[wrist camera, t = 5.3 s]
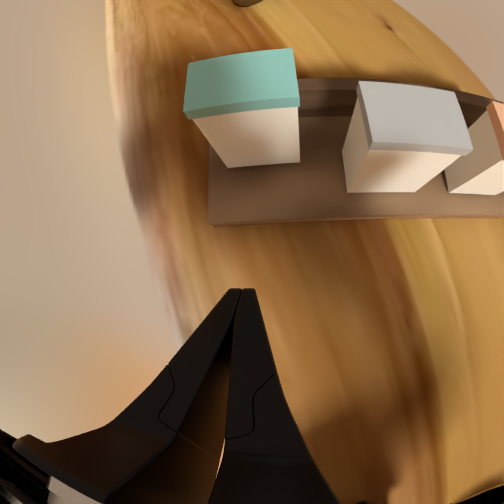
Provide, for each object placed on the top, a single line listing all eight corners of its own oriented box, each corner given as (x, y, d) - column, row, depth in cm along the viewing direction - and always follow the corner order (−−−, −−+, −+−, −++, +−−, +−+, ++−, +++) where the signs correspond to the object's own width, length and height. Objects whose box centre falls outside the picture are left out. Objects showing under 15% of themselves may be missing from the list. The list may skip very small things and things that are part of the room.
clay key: (496, 196, 16) (559, 166, 8) (447, 194, 17) (510, 155, 9) (487, 158, 16) (543, 118, 8) (439, 153, 17) (492, 100, 9)
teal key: (301, 163, 19) (299, 97, 11) (226, 169, 19) (182, 111, 12) (297, 123, 19) (292, 48, 11) (226, 130, 20) (188, 63, 12)
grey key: (415, 193, 17) (473, 149, 9) (345, 194, 18) (372, 141, 10) (408, 151, 17) (454, 92, 10) (340, 150, 18) (358, 80, 10)
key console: (498, 218, 17) (532, 206, 12) (214, 226, 21) (189, 213, 16) (477, 127, 18) (503, 102, 13) (215, 124, 22) (194, 91, 17)
